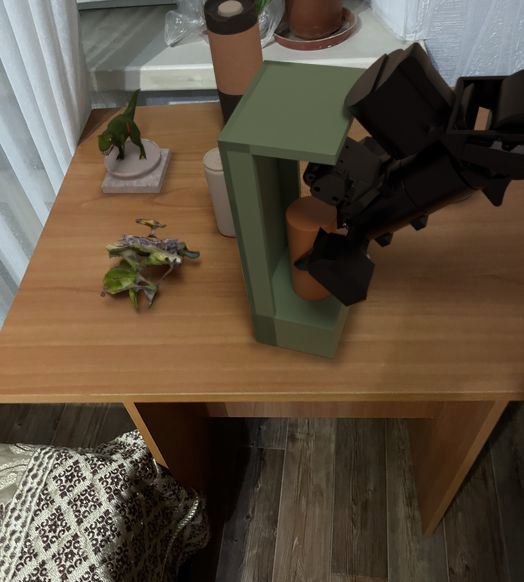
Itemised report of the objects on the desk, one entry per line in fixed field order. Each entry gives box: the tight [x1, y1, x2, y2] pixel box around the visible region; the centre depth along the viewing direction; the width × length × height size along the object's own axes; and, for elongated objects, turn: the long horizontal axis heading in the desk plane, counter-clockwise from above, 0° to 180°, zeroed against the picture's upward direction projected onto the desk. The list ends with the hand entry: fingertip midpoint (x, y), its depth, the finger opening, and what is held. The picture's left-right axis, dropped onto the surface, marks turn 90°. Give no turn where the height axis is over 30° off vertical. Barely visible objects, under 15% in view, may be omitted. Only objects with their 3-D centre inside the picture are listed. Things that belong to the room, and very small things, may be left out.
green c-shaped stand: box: [216, 59, 368, 360], centre depth 59 cm, size 10×12×29 cm
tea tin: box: [286, 195, 338, 300], centre depth 61 cm, size 5×5×11 cm
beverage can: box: [202, 147, 236, 238], centre depth 76 cm, size 5×5×12 cm
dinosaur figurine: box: [96, 87, 172, 194], centre depth 86 cm, size 9×20×12 cm, turn 174°
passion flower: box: [99, 218, 201, 310], centre depth 73 cm, size 11×11×12 cm
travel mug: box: [203, 0, 264, 126], centre depth 85 cm, size 8×8×20 cm
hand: (304, 248), depth 61 cm, fingers closed on tea tin, 5 cm apart
